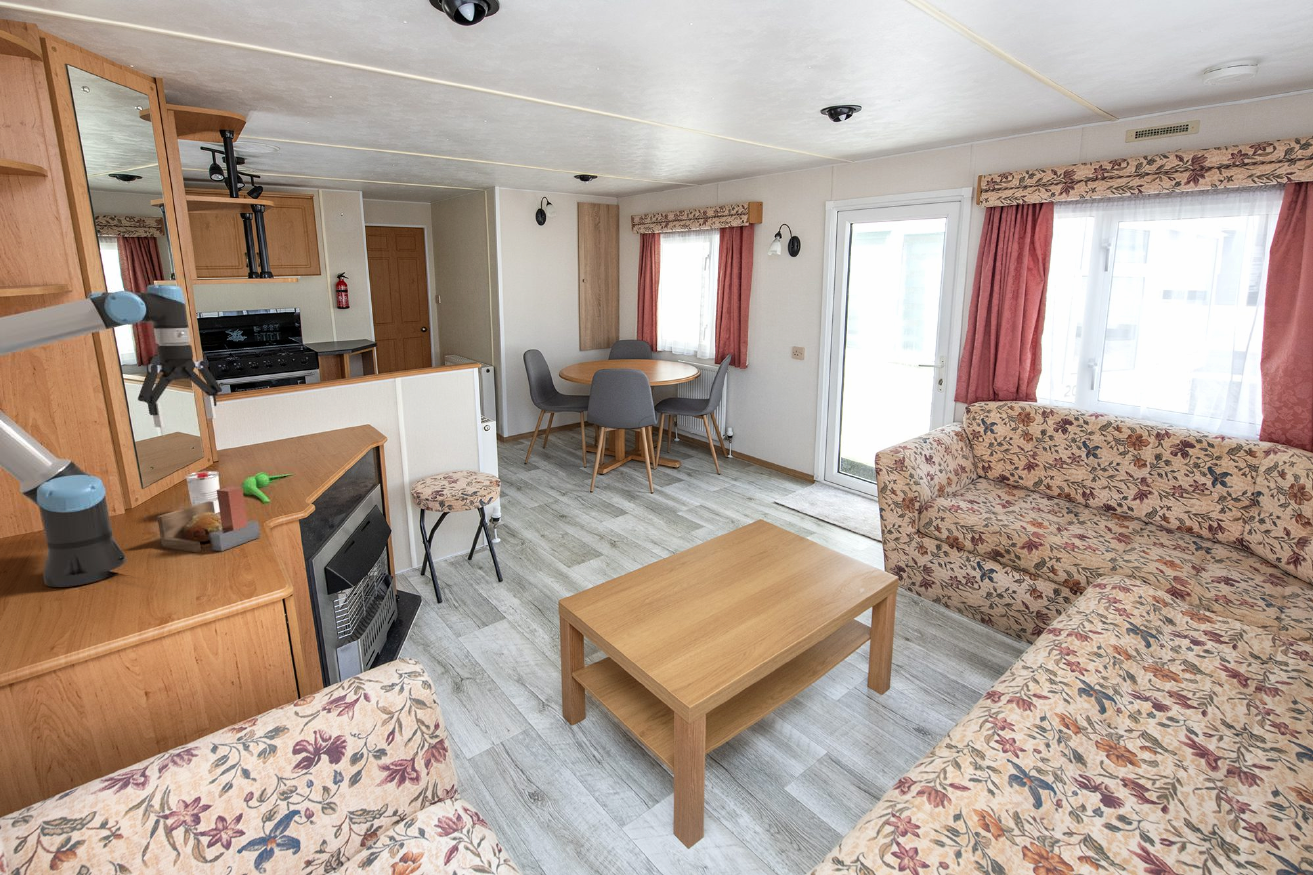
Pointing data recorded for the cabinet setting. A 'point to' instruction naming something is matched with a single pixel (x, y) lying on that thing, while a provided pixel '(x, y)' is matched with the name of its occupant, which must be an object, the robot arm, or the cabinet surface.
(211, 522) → the bread roll
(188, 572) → the cabinet surface
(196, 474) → the striped cup with float
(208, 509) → the frame
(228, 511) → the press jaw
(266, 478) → the lime squeezer
